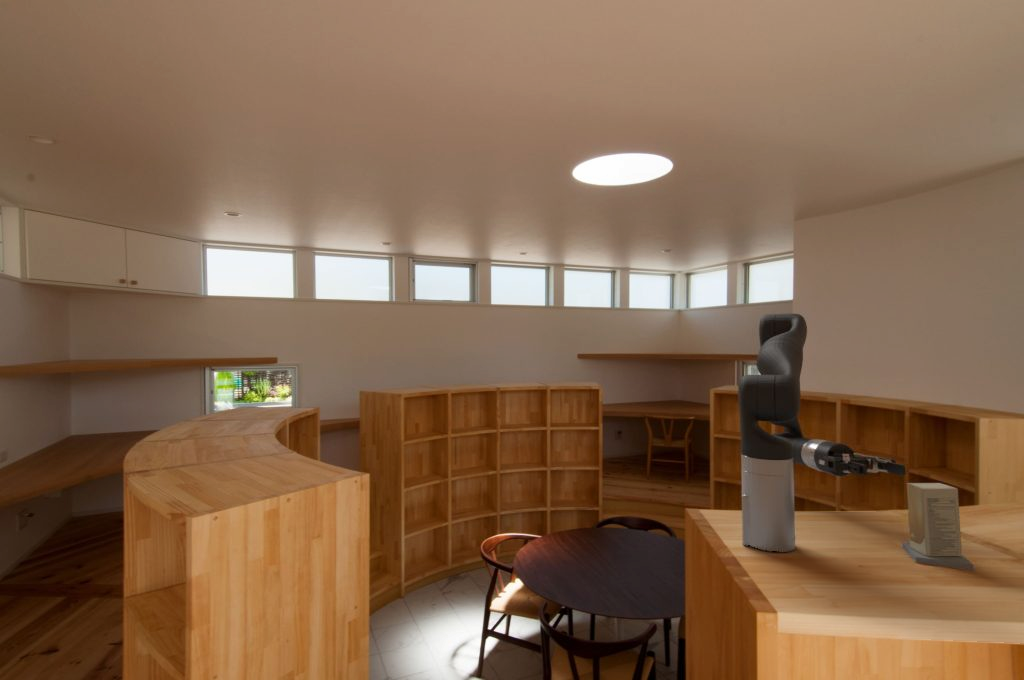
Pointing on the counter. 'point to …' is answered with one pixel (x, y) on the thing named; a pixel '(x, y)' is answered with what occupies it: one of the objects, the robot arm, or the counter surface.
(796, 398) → the robot arm
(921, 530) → the skincare box
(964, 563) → the grey square slab
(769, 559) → the counter surface
